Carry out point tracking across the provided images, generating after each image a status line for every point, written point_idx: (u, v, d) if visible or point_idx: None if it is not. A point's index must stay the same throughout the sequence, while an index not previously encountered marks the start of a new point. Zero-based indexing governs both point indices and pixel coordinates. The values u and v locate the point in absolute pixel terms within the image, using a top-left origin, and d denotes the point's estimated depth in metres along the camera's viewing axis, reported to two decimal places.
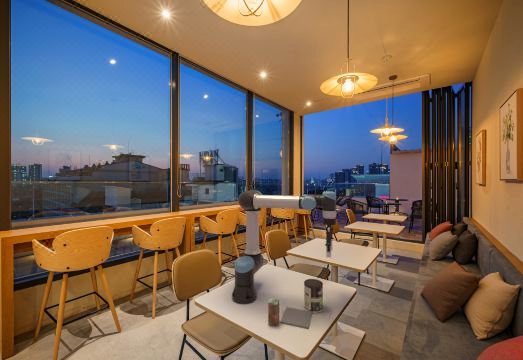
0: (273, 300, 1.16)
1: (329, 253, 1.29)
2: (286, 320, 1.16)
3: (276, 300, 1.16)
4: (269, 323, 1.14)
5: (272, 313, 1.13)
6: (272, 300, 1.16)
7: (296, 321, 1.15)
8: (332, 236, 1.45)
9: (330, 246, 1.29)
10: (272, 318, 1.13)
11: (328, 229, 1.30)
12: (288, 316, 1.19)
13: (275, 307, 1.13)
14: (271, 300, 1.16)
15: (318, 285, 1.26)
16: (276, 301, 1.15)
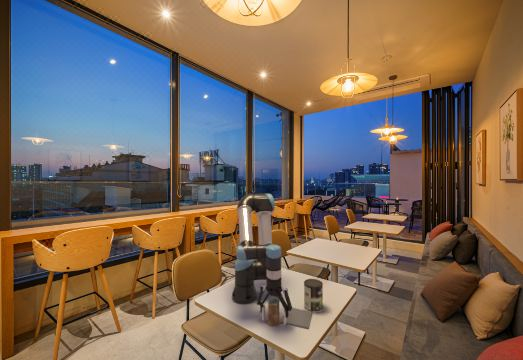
0: (273, 300, 1.16)
1: None
2: None
3: (276, 300, 1.16)
4: (269, 323, 1.14)
5: (272, 313, 1.13)
6: (272, 300, 1.16)
7: (296, 321, 1.15)
8: (289, 309, 1.11)
9: (262, 307, 1.16)
10: (272, 318, 1.13)
11: None
12: (288, 316, 1.19)
13: (275, 307, 1.13)
14: (271, 300, 1.16)
15: (318, 285, 1.26)
16: (276, 301, 1.15)
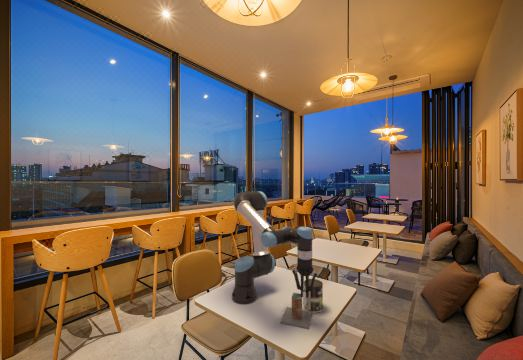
0: (296, 294, 1.20)
1: (303, 299, 1.18)
2: (286, 320, 1.16)
3: (299, 294, 1.20)
4: (292, 316, 1.18)
5: (295, 307, 1.17)
6: (295, 294, 1.20)
7: (296, 321, 1.15)
8: (310, 289, 1.16)
9: (303, 292, 1.18)
10: (295, 311, 1.17)
11: None
12: (288, 316, 1.19)
13: (298, 301, 1.17)
14: (294, 294, 1.20)
15: (318, 285, 1.26)
16: (299, 295, 1.19)
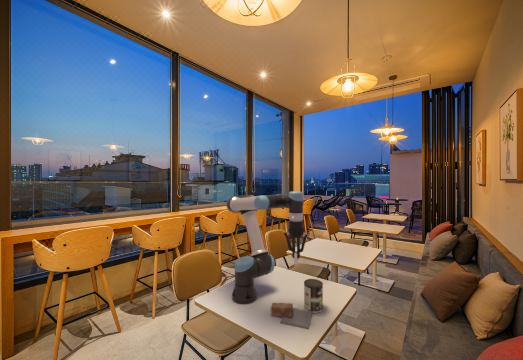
0: None
1: None
2: (286, 320, 1.16)
3: None
4: (290, 315, 1.18)
5: (279, 311, 1.20)
6: None
7: (296, 321, 1.15)
8: (301, 250, 1.21)
9: (294, 253, 1.23)
10: (284, 312, 1.19)
11: None
12: None
13: (273, 308, 1.21)
14: None
15: (318, 285, 1.26)
16: None
